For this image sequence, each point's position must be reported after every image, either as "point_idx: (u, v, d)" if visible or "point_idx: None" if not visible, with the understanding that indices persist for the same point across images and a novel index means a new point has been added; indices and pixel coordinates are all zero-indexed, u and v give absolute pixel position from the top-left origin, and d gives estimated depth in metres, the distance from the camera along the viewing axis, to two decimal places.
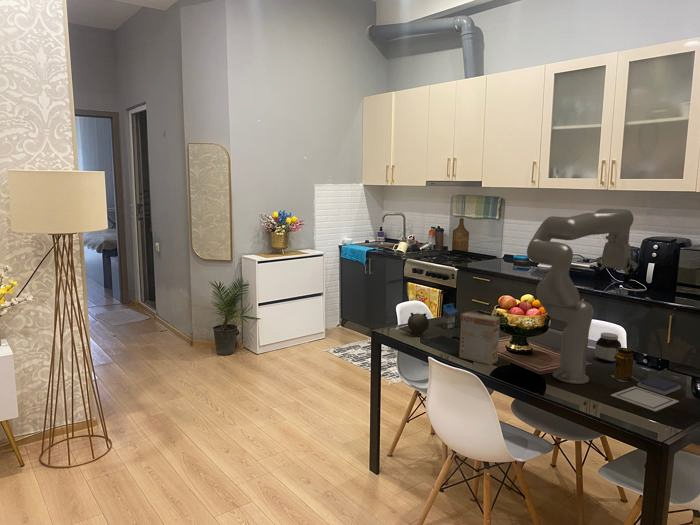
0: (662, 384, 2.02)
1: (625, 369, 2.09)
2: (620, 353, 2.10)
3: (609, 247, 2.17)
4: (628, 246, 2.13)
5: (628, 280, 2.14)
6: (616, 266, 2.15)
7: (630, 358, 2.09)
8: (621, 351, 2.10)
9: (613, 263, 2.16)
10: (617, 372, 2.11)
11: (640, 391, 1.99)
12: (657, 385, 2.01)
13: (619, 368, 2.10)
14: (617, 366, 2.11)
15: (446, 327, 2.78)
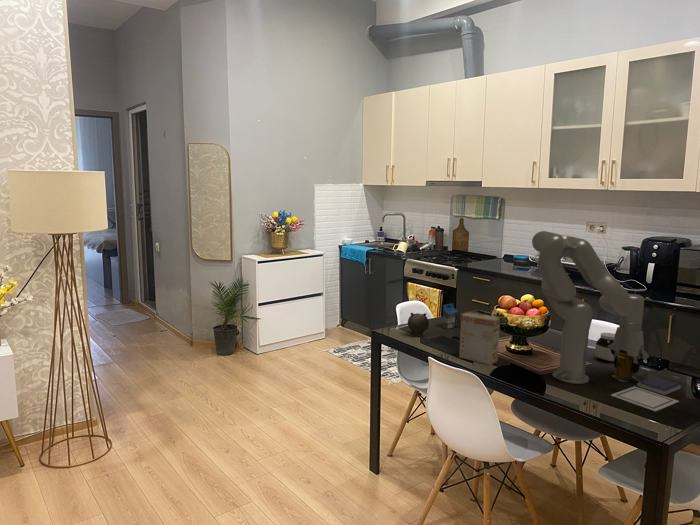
0: (662, 384, 2.02)
1: (626, 370, 2.09)
2: (621, 353, 2.10)
3: (621, 333, 2.10)
4: (641, 334, 2.06)
5: (637, 369, 2.08)
6: (628, 353, 2.08)
7: (631, 358, 2.09)
8: (622, 351, 2.10)
9: (625, 350, 2.09)
10: (618, 372, 2.11)
11: (640, 391, 1.99)
12: (657, 385, 2.01)
13: (620, 368, 2.10)
14: (618, 366, 2.11)
15: (446, 327, 2.78)
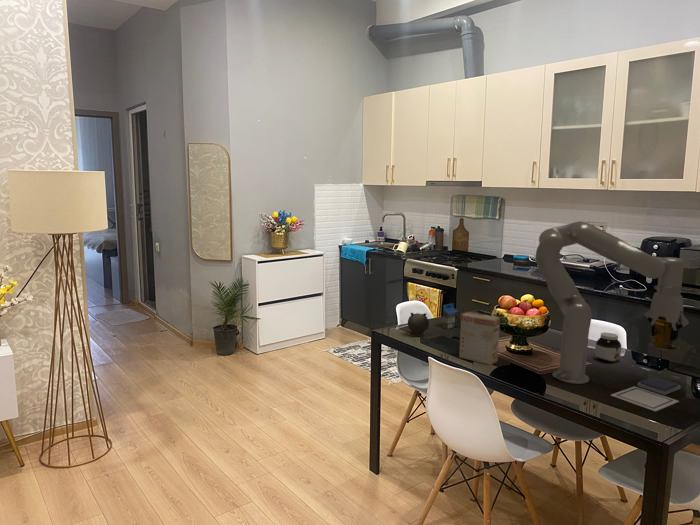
0: (662, 384, 2.02)
1: (665, 337, 1.98)
2: (660, 320, 1.99)
3: (659, 298, 1.99)
4: (680, 298, 1.95)
5: (676, 336, 1.97)
6: (667, 320, 1.97)
7: (670, 325, 1.97)
8: (661, 318, 1.98)
9: (663, 316, 1.98)
10: (656, 340, 2.00)
11: (640, 391, 1.99)
12: (657, 385, 2.01)
13: (659, 336, 1.99)
14: (656, 334, 2.00)
15: (446, 327, 2.78)
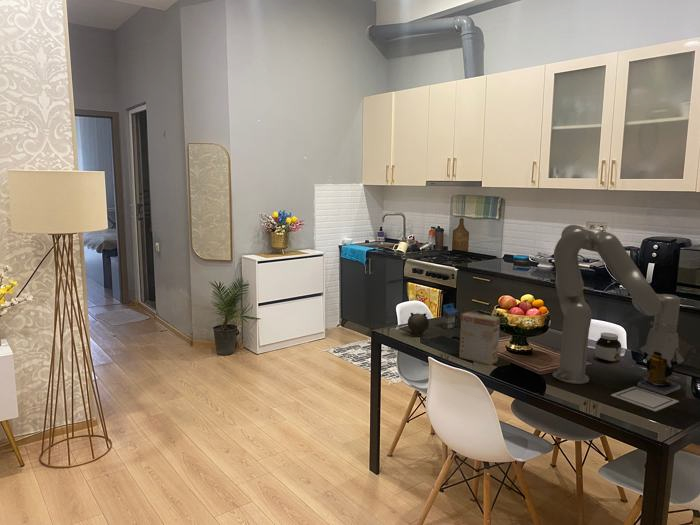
0: None
1: (660, 372, 2.00)
2: (655, 355, 2.01)
3: (655, 335, 2.01)
4: (676, 336, 1.97)
5: (671, 373, 1.99)
6: (662, 356, 1.99)
7: (666, 360, 1.99)
8: (656, 353, 2.00)
9: (659, 352, 2.00)
10: (651, 375, 2.02)
11: (640, 391, 1.99)
12: (657, 385, 2.01)
13: (654, 371, 2.01)
14: (651, 369, 2.02)
15: (446, 327, 2.78)
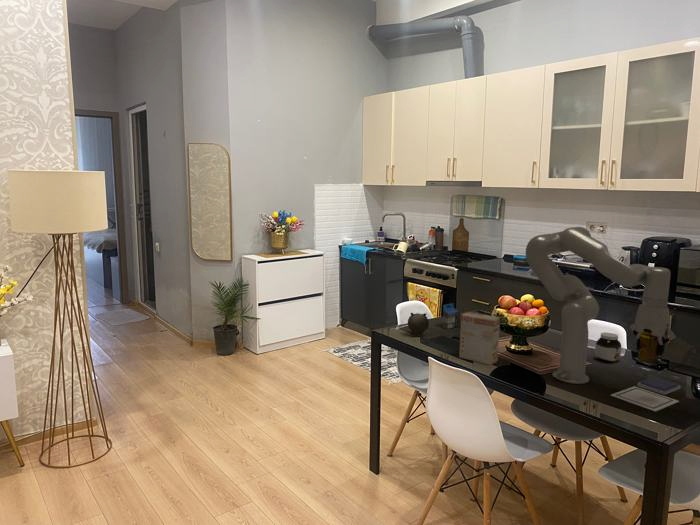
0: (662, 384, 2.02)
1: (651, 351, 1.87)
2: (645, 332, 1.88)
3: (644, 310, 1.88)
4: (667, 311, 1.84)
5: (662, 351, 1.86)
6: (653, 333, 1.86)
7: (656, 338, 1.86)
8: (646, 330, 1.87)
9: (649, 329, 1.87)
10: (642, 354, 1.89)
11: (640, 391, 1.99)
12: (657, 385, 2.01)
13: (644, 349, 1.88)
14: (642, 347, 1.89)
15: (446, 327, 2.78)
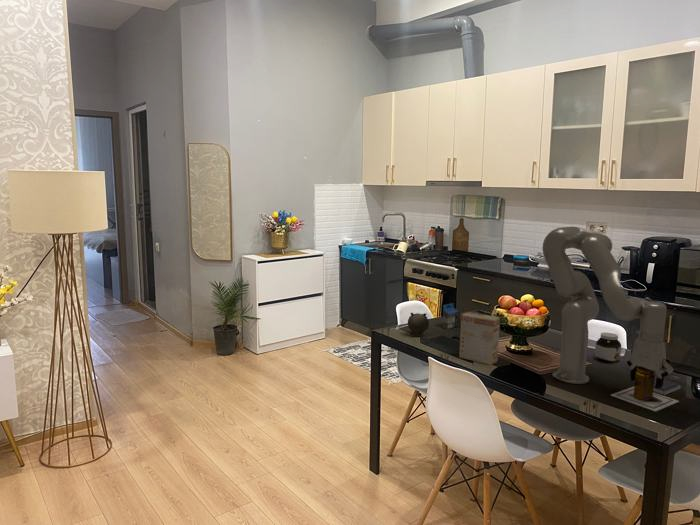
0: None
1: (646, 389, 1.89)
2: (640, 370, 1.90)
3: (641, 344, 1.90)
4: (663, 346, 1.86)
5: (661, 384, 1.87)
6: (649, 367, 1.88)
7: (651, 376, 1.88)
8: (641, 368, 1.90)
9: (645, 363, 1.89)
10: (637, 391, 1.91)
11: None
12: None
13: (639, 387, 1.90)
14: (637, 385, 1.91)
15: (446, 327, 2.78)
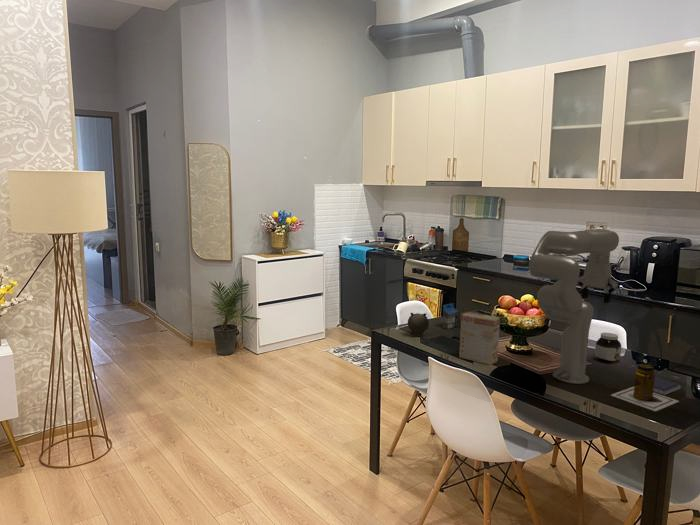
0: (662, 384, 2.02)
1: (646, 389, 1.89)
2: (640, 370, 1.90)
3: (590, 266, 2.20)
4: (608, 266, 2.16)
5: (609, 299, 2.17)
6: (597, 285, 2.18)
7: (651, 376, 1.88)
8: (641, 368, 1.90)
9: (594, 282, 2.19)
10: (637, 391, 1.91)
11: None
12: (657, 385, 2.01)
13: (639, 387, 1.90)
14: (637, 385, 1.91)
15: (446, 327, 2.78)
